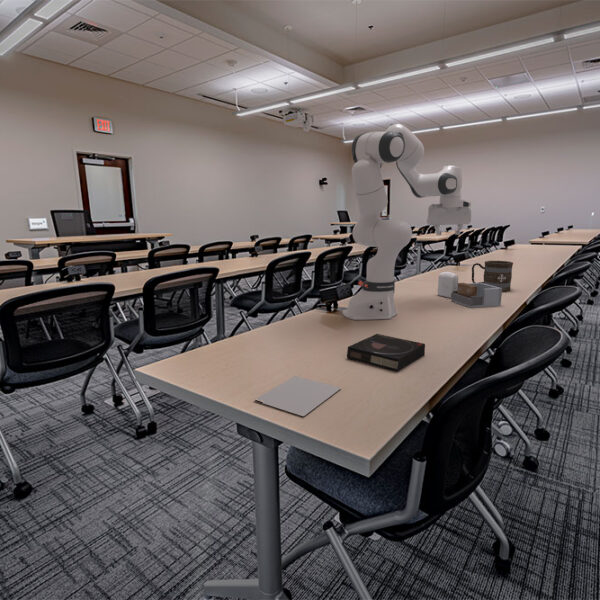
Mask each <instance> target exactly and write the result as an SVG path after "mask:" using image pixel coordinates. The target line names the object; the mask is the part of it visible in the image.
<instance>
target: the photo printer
mask: <svg viewBox="0 0 600 600" xmlns="http://www.w3.org/2000/svg"><path fill="white" fill-rule="evenodd" d="M458 283H459V276H458V275H457V274H456V273H454V272H451V271H443V272H440V273H439V274H438V282H437V296H441V297H445V298H450V299H451V293H453V291H457V289H458Z"/></svg>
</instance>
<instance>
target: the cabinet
mask: <svg viewBox="0 0 600 600" xmlns="http://www.w3.org/2000/svg"><path fill="white" fill-rule="evenodd" d="M467 284H470V285H474V286H477V296H470V298H468V297H465V296H462V295H459V294H457V291H453V293H451V298H450V302H453V303H454V304H455V303H456V304H458V305H461V306H463V305H464V307H466V306H467V308H470V309H476V308H478V307H480V308H491V307H501V306H502V294H503V293H502V288H499V287H495V286H491V285H487V284H483V283H479V282H476V283H473V282H472V283H471V282H469V283H467Z"/></svg>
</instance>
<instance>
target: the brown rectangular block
mask: <svg viewBox="0 0 600 600" xmlns="http://www.w3.org/2000/svg"><path fill="white" fill-rule="evenodd" d="M457 294H459V295H462V296H465V297H468V298H470V296H477V286H474V285H470V284H467V283H466V282H458V289H457Z"/></svg>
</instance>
